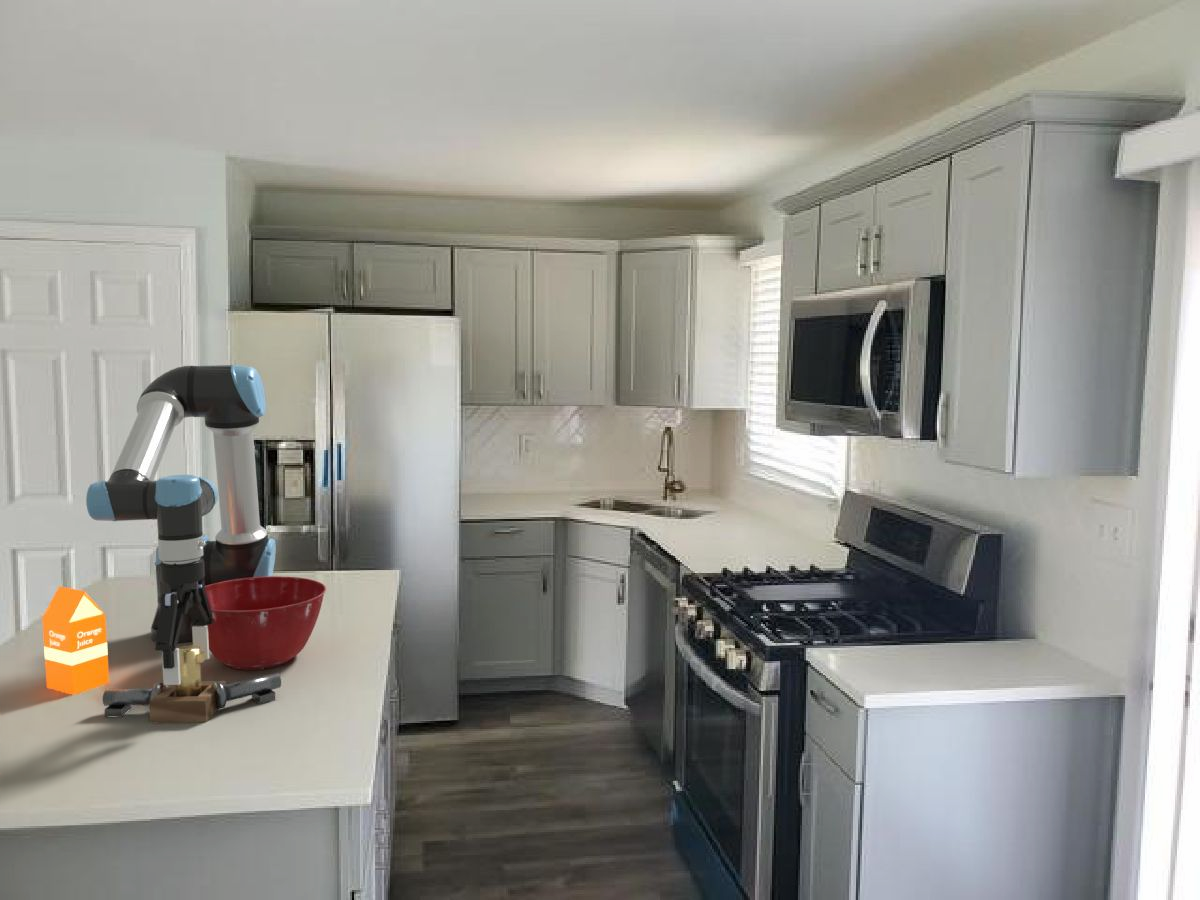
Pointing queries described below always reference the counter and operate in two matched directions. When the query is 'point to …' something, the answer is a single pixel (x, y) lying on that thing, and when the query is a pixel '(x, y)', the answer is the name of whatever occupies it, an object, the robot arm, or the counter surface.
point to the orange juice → (74, 642)
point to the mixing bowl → (262, 619)
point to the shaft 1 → (128, 699)
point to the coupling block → (183, 705)
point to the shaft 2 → (247, 689)
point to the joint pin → (190, 671)
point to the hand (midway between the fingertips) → (187, 671)
